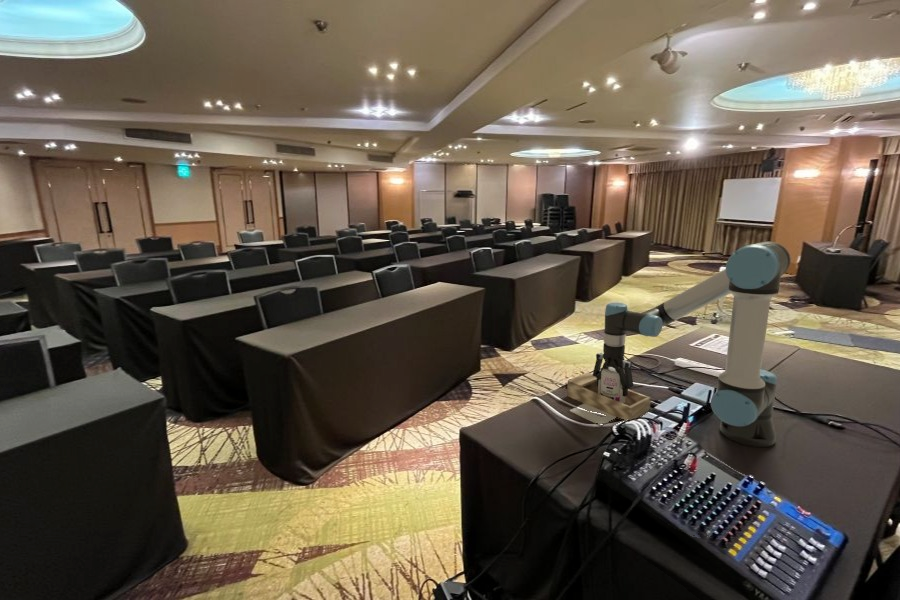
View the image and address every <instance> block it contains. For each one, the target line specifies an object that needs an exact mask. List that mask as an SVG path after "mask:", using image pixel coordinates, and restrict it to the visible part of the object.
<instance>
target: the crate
mask: <svg viewBox="0 0 900 600" xmlns="http://www.w3.org/2000/svg"><path fill="white" fill-rule="evenodd" d="M566 385H567V387H566V390H567V391H566V393H567V394H566V396H567V397H568V398H571V399H572V400H575V401H578V402H579V403H581V404H584V403H585V404H588V405H590V406H592V407H594V408H597V409H599V410H601V411H604V412H606V413H608V414H611V415H613V416H615V417H618V418H617V419H619V418H621V419H624V420H627V419H633V418H637V417H639V416H640V415H642V414H643V413H645V412H647V411H648V410H649V409H650V410H651V396H648V395H644V394H642V393H639V392H637V391H634V390H632V389H628V395H627V396H626V398H625V403H621V402H618V401H616V400H613V399H611V398H608V397H606V396H603V395H601V394H598V386H597V378H596V377H595V376H593V373H591V372H588V371H587V372H585V373H583V374H580V375H577V376H575V377H573V378H570V379H568V380H567V384H566ZM621 419H620V420H621Z"/></svg>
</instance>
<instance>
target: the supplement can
mask: <svg viewBox="0 0 900 600" xmlns="http://www.w3.org/2000/svg"><path fill="white" fill-rule="evenodd" d="M621 387H622V385H621V382H620V376H619V373H617V371H615V368H613V367H608V368H606V369H604V368H603V370H602V372H601V389H600V394H601V395H603V396H606V397H608V398H611V399H613V400H616V401H618V402H619V400H620V388H621Z"/></svg>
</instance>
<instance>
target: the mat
mask: <svg viewBox="0 0 900 600" xmlns="http://www.w3.org/2000/svg"><path fill="white" fill-rule="evenodd" d="M577 407H580V408H583V409H585V410H587V411H589V412H587V411H582V410H580V409H577V408H575V407H574V408H572V409H569V412H570V413H573V414H574V415H577V416H579V417H580V418H583V419H584V420H587V421H590V422H591V423H594V424H596V423H598V424H602V423H607V424H609V423H610V422H612V421H614V420H616V419H617V418H616V417H615V416H613V415H611V414H608V413H606V412H604V411H601V410H599V409H597V408H594V407H592V406H590V405H588V404H585V403H581V404H580V405H578V406H577ZM590 411H592V412H597V413H601V414H604V415H606V416H607V417H600V416H597V415H595V414H592V413H590ZM615 418H616V419H615ZM613 419H614V420H613ZM611 420H612V421H611ZM609 421H610V422H609ZM598 424H597V425H598Z"/></svg>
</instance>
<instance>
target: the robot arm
mask: <svg viewBox="0 0 900 600" xmlns="http://www.w3.org/2000/svg"><path fill="white" fill-rule="evenodd" d="M791 260H792V259H791V254H790V253H789V250H788V249H787V248H786V247H785V246H784V245H782V244H780V243H777V242H774V241H759V242H756V243H754V244H747V245H744V246H741V247H740V248H739V249H737V250H736V251H734V252H733V253H732V254H731V255H730V256H729V258H728V259H727V261H726V265H725V269H723V270H721V271H720V272H717V273H715V274H714V275H711V276H709V277H708V278H706V279H704V280H703V281H700V282H699V283H697V284H695V285H694V286H692V287H690V288H688V289H686V290H684V291H683V292H681V293H678V294H677V295H675V296H673V297H671V298H670V299H667V300H665V301H664V302H663V303H660V304H658V305H657V306H655V307H653V308H651V309H648V310H645V311H642V312H636V311H632V310H631V311H630V310H629V309H628V305H627V304H626V303H623V302H610V303H608V304H606V306H605V311H604V333H603V349H602V352H599V353H596V354H595V357H596V360H595V363H594V368H593V372H592V374H593V376H595V377H596V378H597V386H598V394H600V389H601V372H602V370H603V368H604V369H606V368H608V367H613V368H615V371H617V373H619V376H620V382H621V385H622V387H621V388H620V400H619V402H621V403H623V404H624V403H625V398H626V396H627V395H628V389H629V390H631V388H633V387H634V379H633V371H632V365H633V362H632V361H627V360H625V357H624V356H625V351H626V350H625V349H626V332H627V333H632V334H636V335H640V336H645V337H652V338H655V337H656V338H657V337H658V336H659V335H660V333H661V332H662V329H663V327H666V326H669V325H670V324H671V323H674V322H675V321H677V320H678V319H681V318H683V317H685V316H688V315H690V314H691V313H694V312H695V311H698V310H700V309H702V308H704V307H705V306H706V307H707V306H708V305H709V304H712V303H714V302H716V301H718V300H720V299H722V298H723V297H724V298H725V297H727V296H728V295H730V294H732V295H733V300H732V310H731V317H730V327H729V336H728V345H727V352H726V359H725V369H724V371H723V372H721V373H719V374H718V377H717V386H716V391H715V392H714V393H713V394H712V396H711V399H710V407H711V410H712V412H713V413H714V415H716V417H718V419H719V420H720V424H719V431H720V433H721V434H722V435H723V436H725V437H726V438H728V439H730V440H731V441H734V442H736V443H739V444H741V445H744V446H750V447H755V448H757V447H758V448H767V447H771V446H773V445H774V444H775V443H776V440H777V438H776V437H777V434H776V430H775V425H774V423H773V412H774V405H775V397H776V393H777V392H776V391H777V386H778V377H777V376H776V375H777V374H775V373H773V372H770V371H768V370H765V369H762V365H763V364H762V363H763V357H764V356H763V355H764V350H765V349H764V348H765V343H766V342H765V341H766V336H767V328H768V327H767V326H768V319H769V313H770V306H771V299H772V298H774V297H775V296H777V295H778V294H779V293H780V292H779V291H780V284H781V277H782V276H783V275H784V274H785V273H786V272H787V271H788V270H789V268H790V266H791ZM603 360H604V362H603ZM602 364H603V365H602Z"/></svg>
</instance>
